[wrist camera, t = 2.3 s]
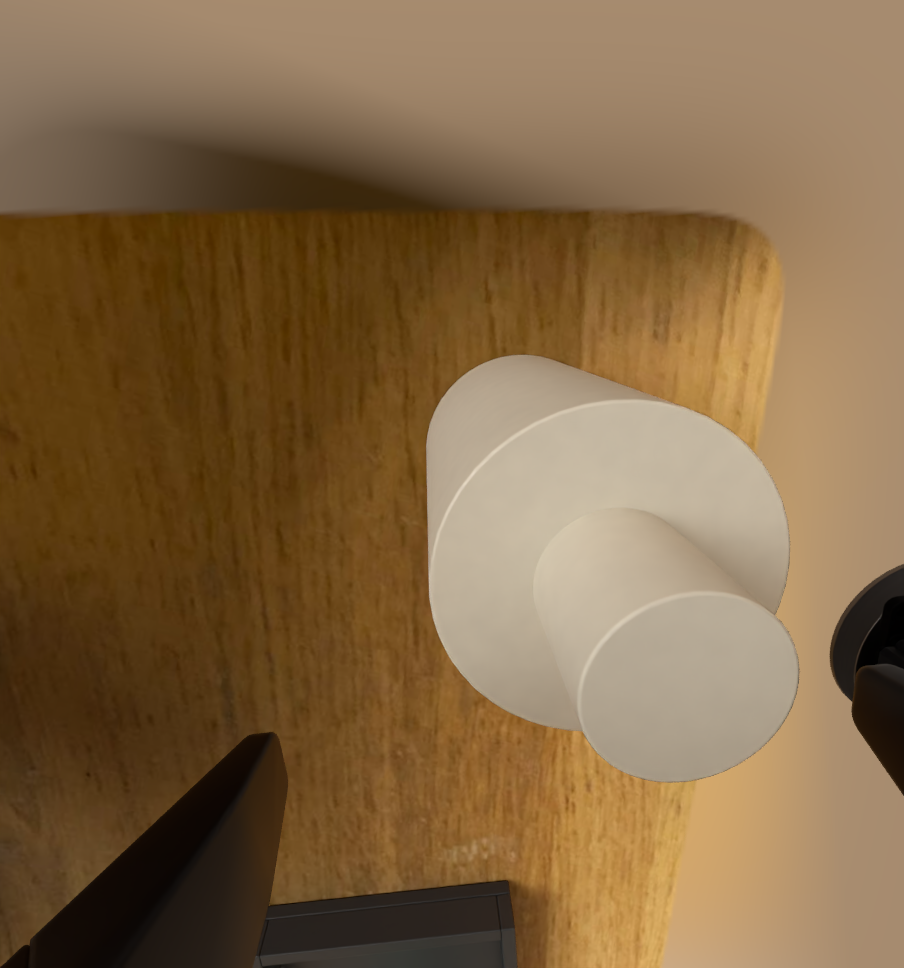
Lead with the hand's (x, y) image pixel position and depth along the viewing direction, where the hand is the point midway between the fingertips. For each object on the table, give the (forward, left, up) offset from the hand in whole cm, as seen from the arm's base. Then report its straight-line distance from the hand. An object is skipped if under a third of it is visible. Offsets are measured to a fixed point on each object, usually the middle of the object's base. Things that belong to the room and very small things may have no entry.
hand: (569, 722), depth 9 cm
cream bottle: (-1, -1, -12) cm, 12 cm away
